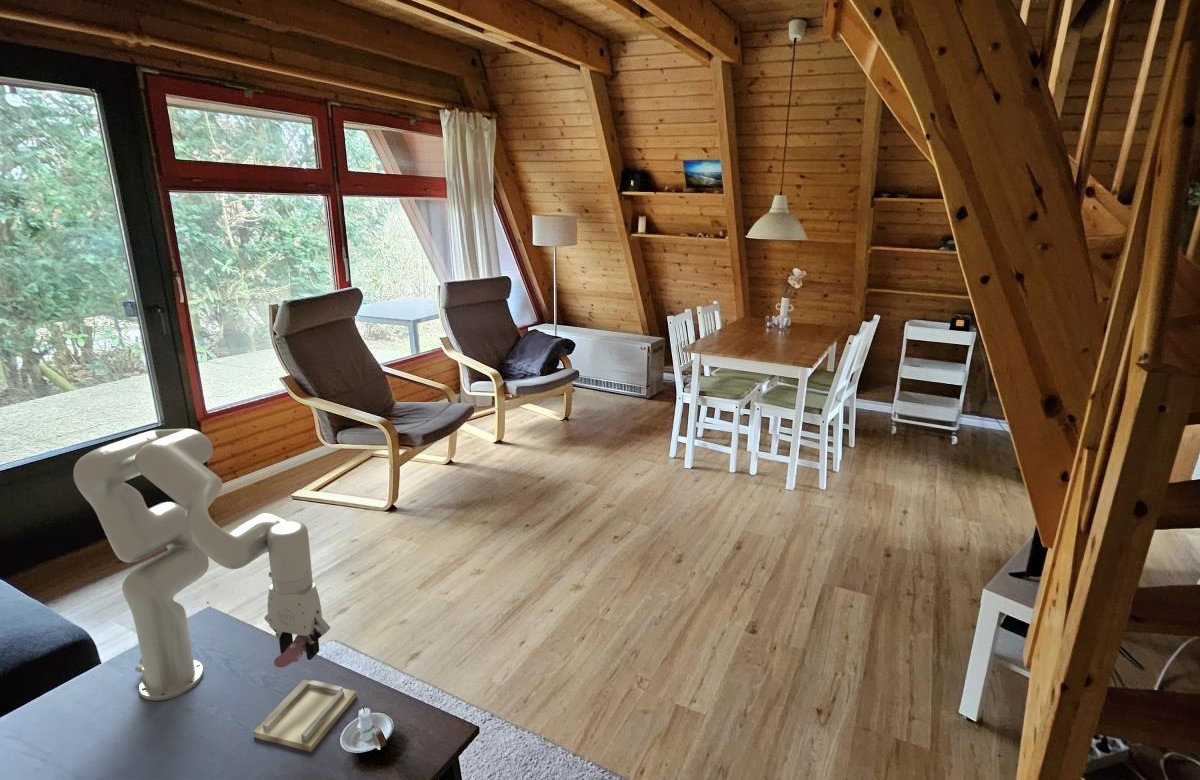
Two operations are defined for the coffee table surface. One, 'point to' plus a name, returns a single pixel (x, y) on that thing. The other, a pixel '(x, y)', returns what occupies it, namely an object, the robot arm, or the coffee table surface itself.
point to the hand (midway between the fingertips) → (300, 652)
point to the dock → (305, 715)
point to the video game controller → (292, 652)
